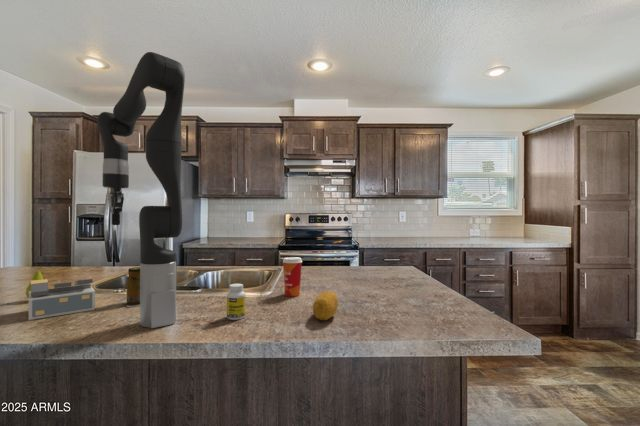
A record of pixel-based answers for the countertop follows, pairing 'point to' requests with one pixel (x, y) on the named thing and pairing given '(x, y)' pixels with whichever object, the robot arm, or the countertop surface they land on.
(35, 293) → the switch left
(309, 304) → the countertop surface
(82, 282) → the switch right
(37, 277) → the fruit
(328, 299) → the potato
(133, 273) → the condiment
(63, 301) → the switch unit
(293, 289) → the paper cup
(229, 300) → the supplement bottle
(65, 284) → the switch middle
